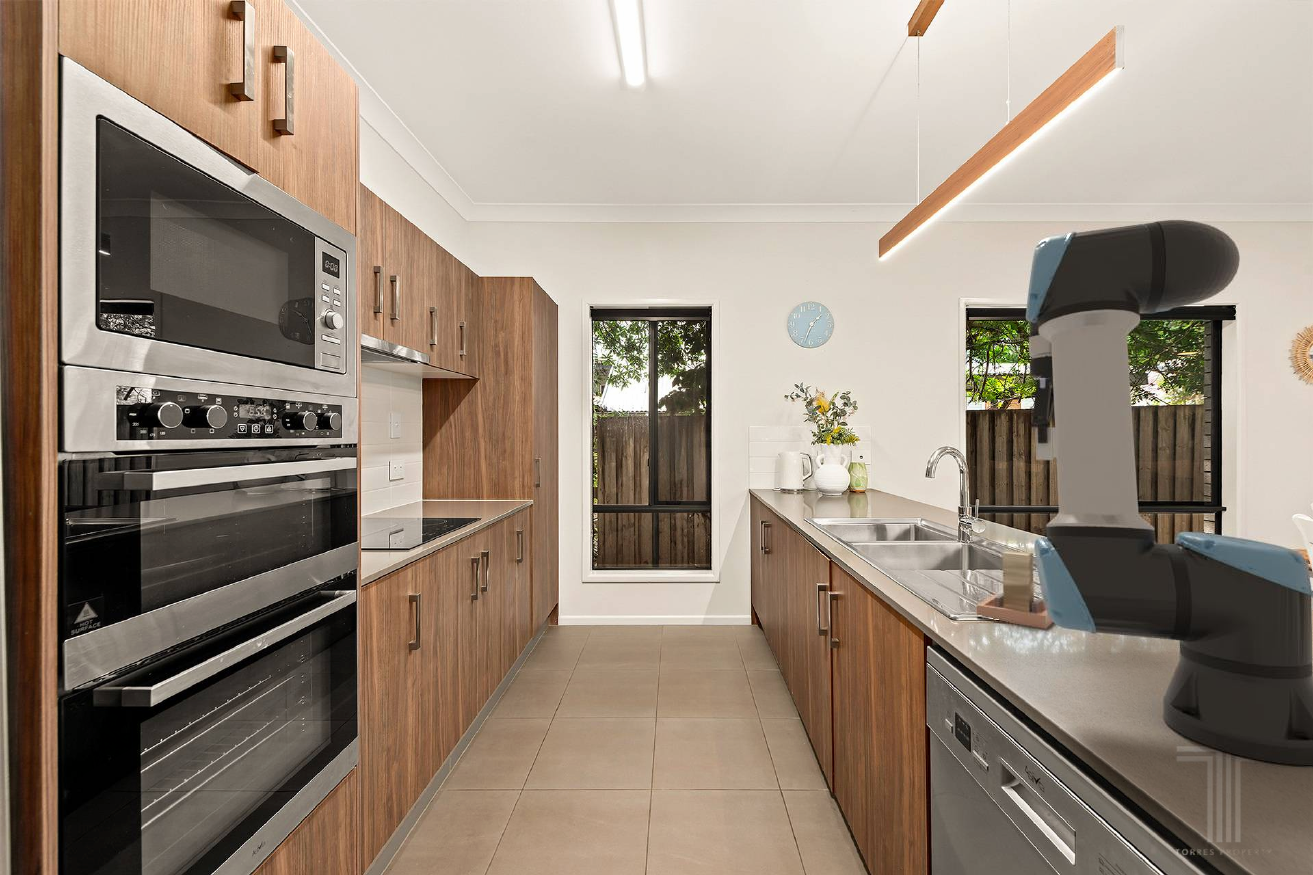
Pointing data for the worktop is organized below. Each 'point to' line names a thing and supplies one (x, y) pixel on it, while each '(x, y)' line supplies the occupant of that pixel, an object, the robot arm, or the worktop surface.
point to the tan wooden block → (1018, 580)
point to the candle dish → (1015, 612)
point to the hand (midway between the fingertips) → (1052, 458)
